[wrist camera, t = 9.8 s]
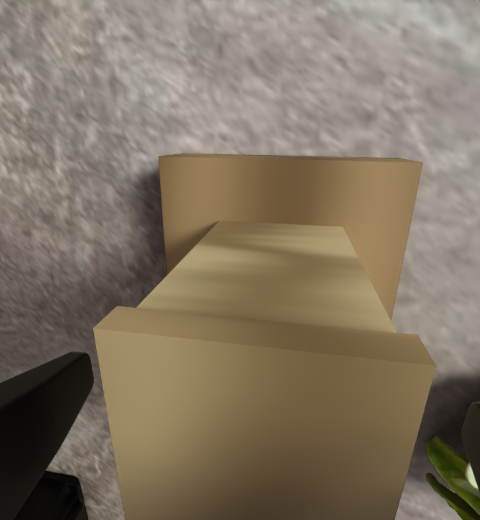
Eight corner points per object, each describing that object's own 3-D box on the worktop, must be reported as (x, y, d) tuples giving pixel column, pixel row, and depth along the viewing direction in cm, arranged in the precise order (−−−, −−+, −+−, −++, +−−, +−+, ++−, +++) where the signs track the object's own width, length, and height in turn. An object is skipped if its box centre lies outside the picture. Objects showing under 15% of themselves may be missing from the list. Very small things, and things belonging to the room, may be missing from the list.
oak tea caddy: (216, 326, 16) (127, 533, 7) (215, 215, 14) (93, 328, 6) (333, 338, 15) (376, 585, 7) (348, 222, 13) (436, 365, 5)
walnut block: (190, 329, 19) (172, 361, 17) (182, 153, 16) (158, 156, 13) (365, 348, 18) (377, 385, 15) (399, 158, 14) (423, 162, 12)
